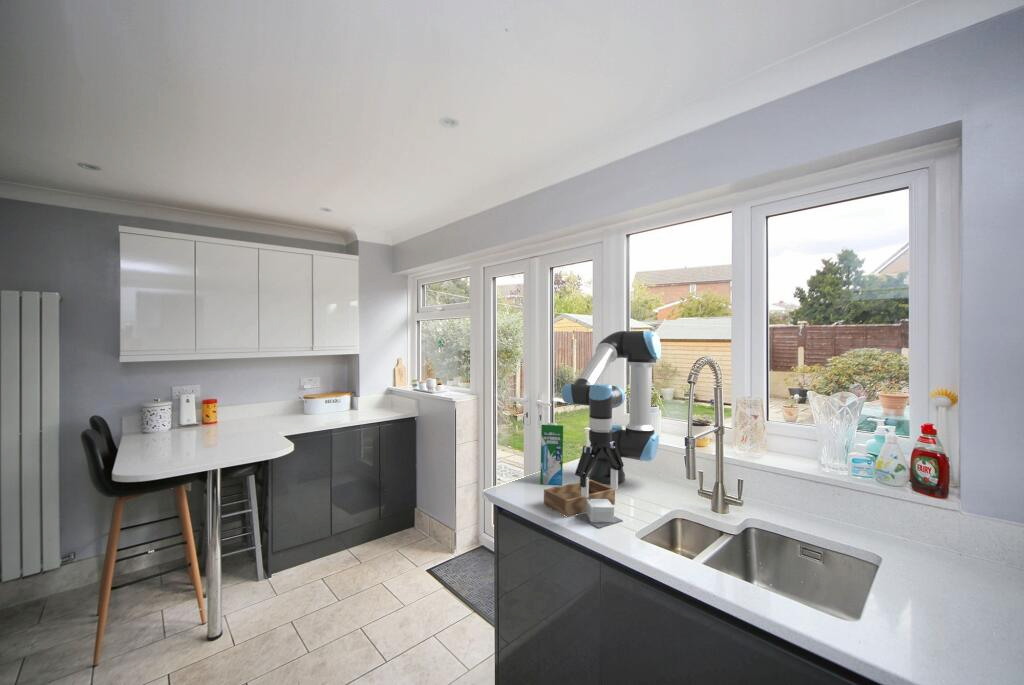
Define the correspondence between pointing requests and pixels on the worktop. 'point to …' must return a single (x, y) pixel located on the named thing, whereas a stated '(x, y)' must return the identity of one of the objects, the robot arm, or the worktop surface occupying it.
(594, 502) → the small box
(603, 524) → the rubber pad
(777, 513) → the worktop surface
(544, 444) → the milk carton
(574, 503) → the walnut frame
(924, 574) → the worktop surface
